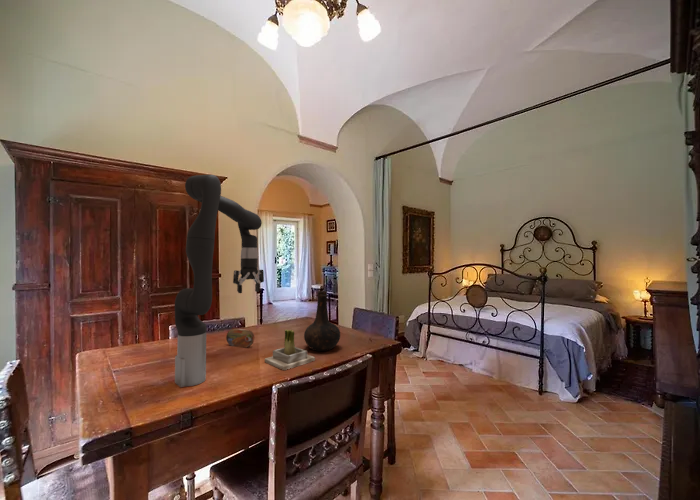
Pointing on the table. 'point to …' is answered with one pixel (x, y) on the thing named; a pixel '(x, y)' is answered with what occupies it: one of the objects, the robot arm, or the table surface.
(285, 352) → the fennel bulb
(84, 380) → the table surface
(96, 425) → the table surface
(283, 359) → the grey piece
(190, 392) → the table surface
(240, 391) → the table surface
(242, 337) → the tin
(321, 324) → the glass bottle
